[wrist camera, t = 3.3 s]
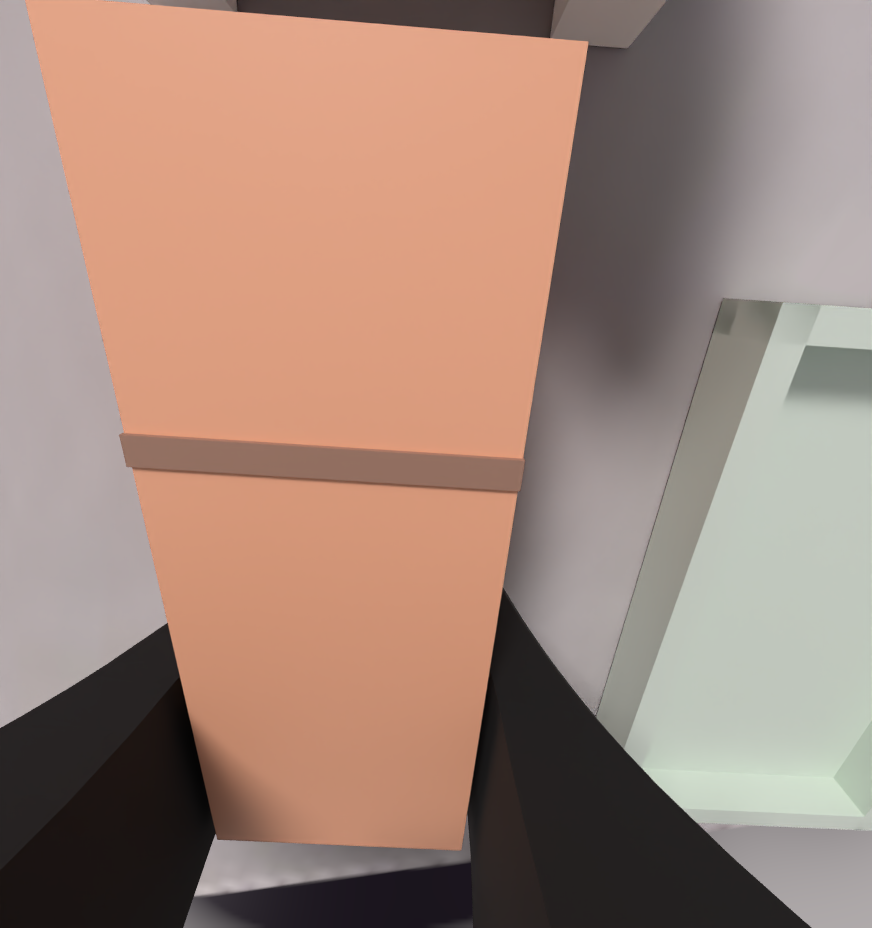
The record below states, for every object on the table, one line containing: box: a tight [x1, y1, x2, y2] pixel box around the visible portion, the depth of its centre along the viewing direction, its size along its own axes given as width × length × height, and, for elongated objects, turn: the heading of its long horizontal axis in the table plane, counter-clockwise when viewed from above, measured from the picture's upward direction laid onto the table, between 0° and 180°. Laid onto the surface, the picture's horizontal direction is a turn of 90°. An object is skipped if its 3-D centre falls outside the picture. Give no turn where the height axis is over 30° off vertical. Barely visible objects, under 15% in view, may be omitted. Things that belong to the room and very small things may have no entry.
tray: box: [596, 298, 872, 831], centre depth 10 cm, size 8×13×2 cm, turn 176°
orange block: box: [25, 0, 589, 851], centre depth 7 cm, size 4×9×5 cm, turn 176°
